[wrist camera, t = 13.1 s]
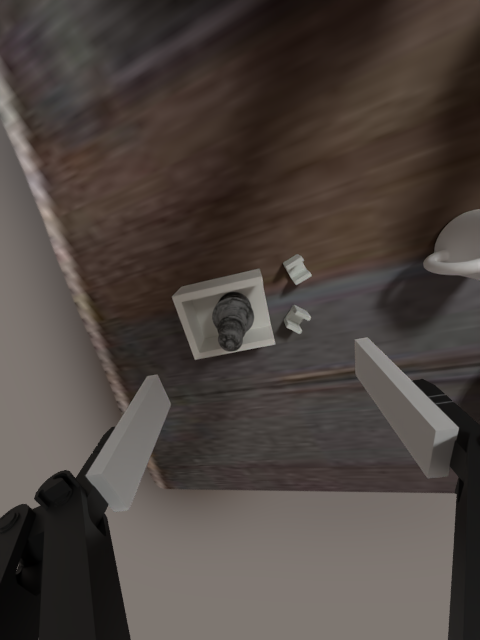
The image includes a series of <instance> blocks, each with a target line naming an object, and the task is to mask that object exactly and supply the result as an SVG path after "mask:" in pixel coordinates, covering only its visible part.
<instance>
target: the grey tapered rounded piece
mask: <svg viewBox="0 0 480 640" xmlns="http://www.w3.org/2000/svg"><path fill="white" fill-rule="evenodd" d="M212 320H213V323H214V325H215V327H216V328H217V331H218V334H219V336H218V342H219V345H220V347H221V348H222V349H224V350H225V351H228V352H233V351H236V350H238V349H239V348H240V347H241V345H242V343H243V337H244V336H245V333H246V332H247V331H248V330H249V329H250V328H251V327H252V325H253V322H254V312H253V309H252V307H251V303H250V301H249V299H248V298H247V297H246V296H245V295H243V294H241V293H238V292H230V293H227V294H225V295H223V296H222V297H221V298H220V300H219V301H218V303H217V304H216V306H215V307H214V310H213V313H212Z"/></svg>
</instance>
